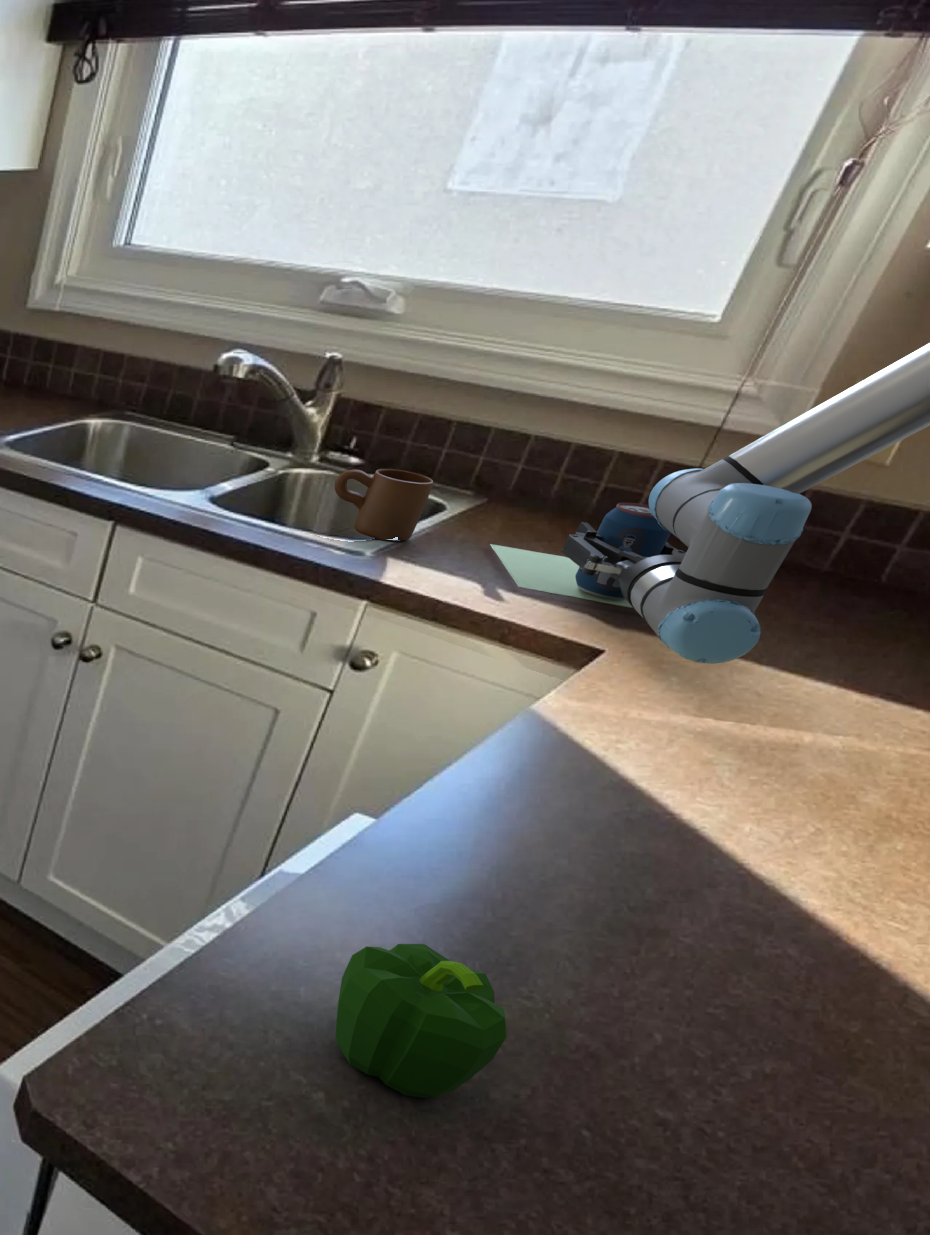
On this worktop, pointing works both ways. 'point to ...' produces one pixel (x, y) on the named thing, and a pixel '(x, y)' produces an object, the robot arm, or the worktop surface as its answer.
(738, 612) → the robot arm
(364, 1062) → the bell pepper
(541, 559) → the mat
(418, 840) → the worktop surface
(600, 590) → the soda can
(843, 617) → the worktop surface
